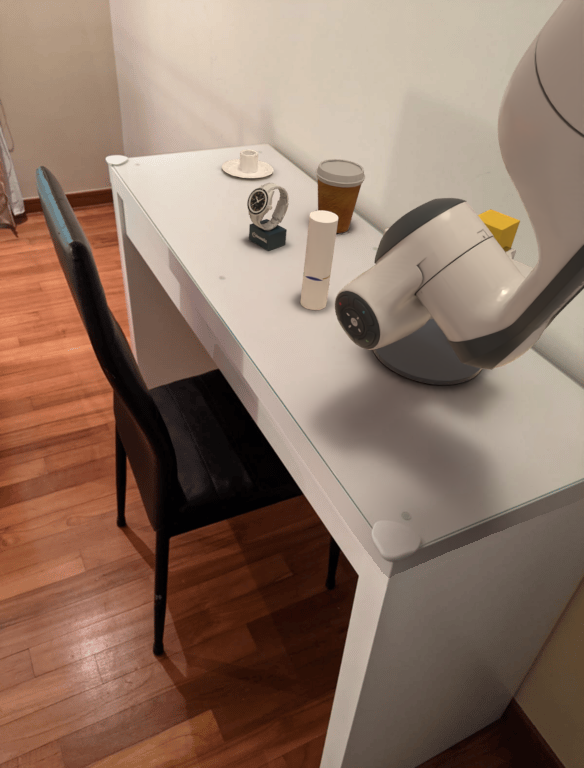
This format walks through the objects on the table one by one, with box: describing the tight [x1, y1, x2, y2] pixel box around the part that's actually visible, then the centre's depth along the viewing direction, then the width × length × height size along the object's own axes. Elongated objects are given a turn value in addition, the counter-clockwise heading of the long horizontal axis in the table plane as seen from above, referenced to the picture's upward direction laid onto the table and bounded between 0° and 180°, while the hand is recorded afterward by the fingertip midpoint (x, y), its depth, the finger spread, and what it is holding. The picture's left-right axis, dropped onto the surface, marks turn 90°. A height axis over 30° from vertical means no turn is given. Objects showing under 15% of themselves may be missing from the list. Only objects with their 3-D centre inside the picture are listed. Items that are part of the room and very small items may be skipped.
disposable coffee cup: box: [315, 158, 366, 234], centre depth 119 cm, size 10×10×12 cm
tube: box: [300, 210, 338, 311], centre depth 95 cm, size 4×4×15 cm
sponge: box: [477, 208, 521, 248], centre depth 83 cm, size 5×4×9 cm
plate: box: [372, 319, 483, 386], centre depth 92 cm, size 17×17×1 cm
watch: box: [246, 182, 290, 252], centre depth 112 cm, size 6×8×11 cm
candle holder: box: [221, 149, 274, 179], centre depth 141 cm, size 12×12×4 cm
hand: (490, 245), depth 83 cm, fingers closed on sponge, 4 cm apart
